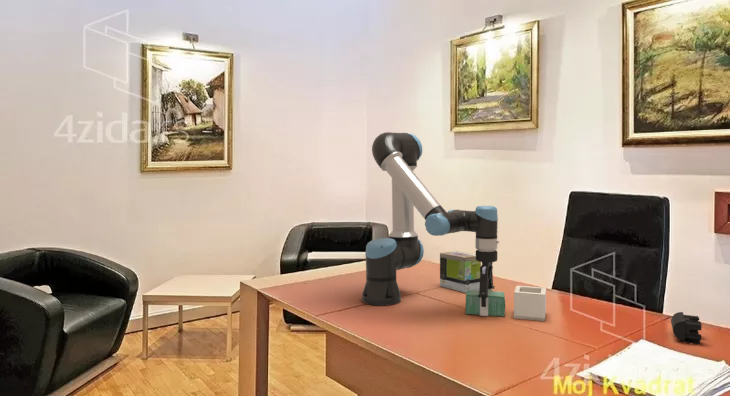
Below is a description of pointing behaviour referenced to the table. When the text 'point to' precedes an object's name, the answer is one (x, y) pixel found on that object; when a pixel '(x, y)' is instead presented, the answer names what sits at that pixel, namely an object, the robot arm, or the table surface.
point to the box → (494, 303)
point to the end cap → (686, 328)
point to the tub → (530, 303)
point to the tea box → (459, 271)
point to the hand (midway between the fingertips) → (486, 311)
